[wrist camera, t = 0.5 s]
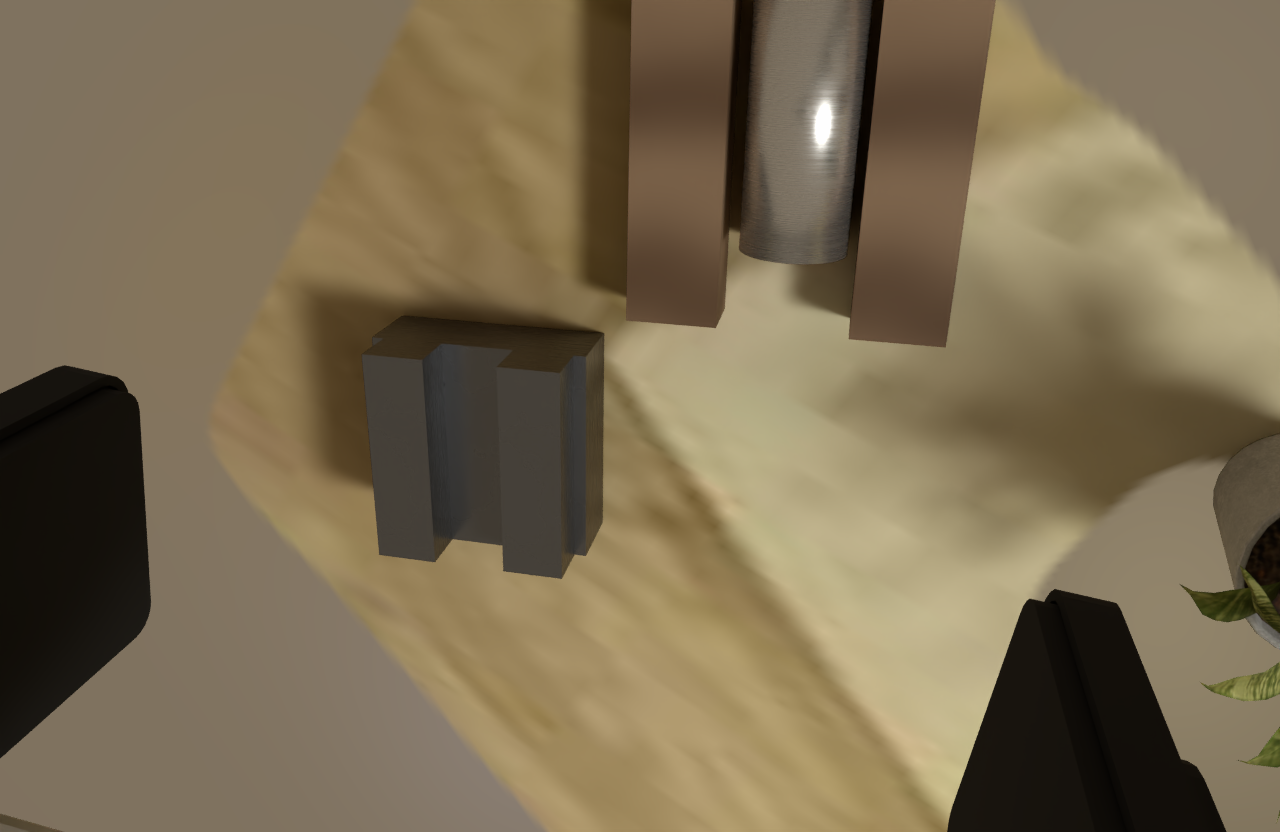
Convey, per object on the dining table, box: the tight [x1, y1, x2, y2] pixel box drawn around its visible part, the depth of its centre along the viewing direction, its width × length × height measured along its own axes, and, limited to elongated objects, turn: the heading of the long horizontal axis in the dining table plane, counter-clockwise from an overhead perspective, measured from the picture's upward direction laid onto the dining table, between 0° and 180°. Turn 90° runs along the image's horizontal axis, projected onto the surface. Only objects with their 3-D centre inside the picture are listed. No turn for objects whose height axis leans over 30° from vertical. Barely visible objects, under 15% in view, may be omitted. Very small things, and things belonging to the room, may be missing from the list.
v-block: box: [362, 316, 604, 579], centre depth 44 cm, size 9×9×5 cm
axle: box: [739, 0, 873, 264], centre depth 37 cm, size 10×4×4 cm, turn 179°
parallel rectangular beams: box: [626, 0, 996, 347], centre depth 37 cm, size 18×12×3 cm, turn 179°
